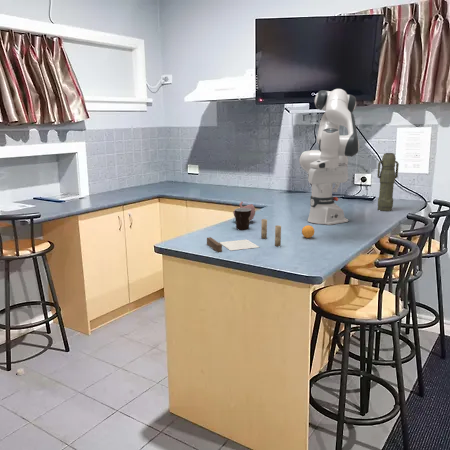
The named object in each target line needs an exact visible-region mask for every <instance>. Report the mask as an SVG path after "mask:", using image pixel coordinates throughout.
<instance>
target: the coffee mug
mask: <svg viewBox="0 0 450 450" xmlns="http://www.w3.org/2000/svg"><path fill="white" fill-rule="evenodd" d="M234 211H235V216H234V218H235V227H236V230H238V229H239V230H238V231H246V230H250V222H251V221H250V215H251V209H248V208H240V207H237V208H235V209H234Z"/></svg>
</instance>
